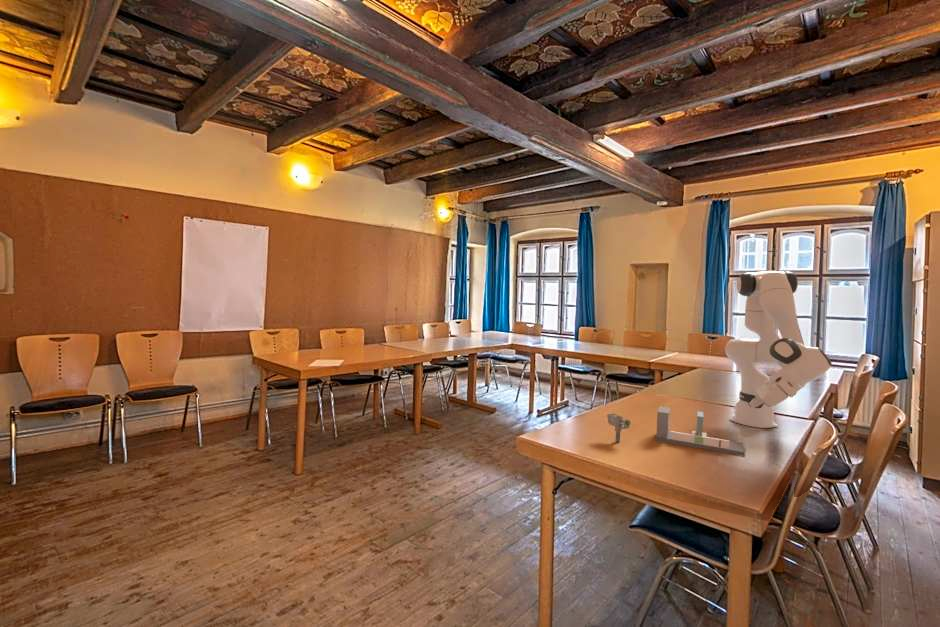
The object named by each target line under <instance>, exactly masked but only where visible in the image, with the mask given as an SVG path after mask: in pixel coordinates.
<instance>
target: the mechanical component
mask: <svg viewBox="0 0 940 627" xmlns="http://www.w3.org/2000/svg"><path fill="white" fill-rule="evenodd" d="M606 417H607V423H608V425H609V426H613V427H614V431H615V439H614V440H615V443H616V444H617V443H620V442H621V441H620V440H621V432H623V431H622V430H626V429H630V426H631V421H630V419H623V418H624V417H623V416H620V415H618V414H615V413H607V416H606Z"/></svg>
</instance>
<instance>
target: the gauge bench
mask: <svg viewBox="0 0 940 627" xmlns="http://www.w3.org/2000/svg"><path fill="white" fill-rule="evenodd" d="M670 417H671V407H668V406H667V407H666V406H659V408H658V409H657V417H656V433H655V441H656V442H661V443H665V444H671V445H677V446H678V445H679V446H683V447H688V448H689V447H690V448H694V449H695V448H696V449H700V450H701V449H702V450H707V451H711V452H717V453H724V454H728V455H729V454H730V455H735V456H739V457H740V456H741V457H745V455H746V451H745V448H744V443H743V442H740V441H733V440H729V439H722V438H716V437H709V436H706V437H705V436H698V435H693V434H692V433H686V432H679V431H673V430H670V422H671V421H670V419H671V418H670Z"/></svg>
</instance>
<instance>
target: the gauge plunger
mask: <svg viewBox="0 0 940 627" xmlns="http://www.w3.org/2000/svg"><path fill="white" fill-rule="evenodd" d="M696 413H697V414H696V416H697V417H696V430H692V431H691V434H693V435H698V436H705V437H707V432H704V431H703V430H704V429H703V428H704V427H703V426H704V412H703V411H697V412H696Z"/></svg>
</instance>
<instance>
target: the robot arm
mask: <svg viewBox="0 0 940 627" xmlns="http://www.w3.org/2000/svg"><path fill="white" fill-rule="evenodd" d="M798 285H799V280H798V277H797V275H796V274H795V272H792V271H789V270H787V271H785V270H784V271H777V270H766V271H756V272H750V271H747V272H743V273H741V274H740V275H739V276H738V278H737V280H736V285H735V286H736V290H737V293H738V294H739V295H741V296H743V297H746V300H745V309H744V310H745V312H744V315H745V316H744V326H745V328H746V329H747V330H749V331H750V332H752V333H754V334H756V335H758V337H759V339H755V338H754V339H753V338H752V339H751V338H733V339H729V340H728V342H727V343H726V345H725V349H724V352H725V355H726V356H727V358H728V359H729V360H730V361H732V362H733V363H734V364H735V366H737V369H738V370H739V373H740V383H741V384H740V391H739V400H738V401H737V402H735V404H733V410H734V411H733V413H732V415H731V416H730V417H729V419H728V420H729V421H731V422H735V423H737V424H740V425H744V426H747V427H751V428H759V429H761V428H762V429H770V428H778V427H779V424H777V423H776V422H774V416H775V414H774V412H775V409H774V407H775V406H777V405H778V404H780V403H782V402H784V401H785V400H787V399H788V398H793V397H795V396H796V395H797V393H798V392H799V391H800V390H801V389H803V388H804V387H805V386H806V385H807V384H809V383H810V382H813V381H814V382H815V380H817V379H818V378H820V377H821V376H822V375H824V374H825V373H826V372H827V371H829V370H830V369H831V367H832V361H831V359H830V358H829V357H828V356H827V354H826V353H825V352H824V350H822V349H821V348H819V347H817V346H813V347H812V346H808V345H805V343H804V340H803V336H802V333H801V329H800V326H799V323H798V322H799V320H798V315H797V310H796V302H795V298H794V293H796V292H797V289H798ZM776 329H777V330H778V332H779V334H780V335H778V333H777V330H776ZM780 336H781V337H780ZM756 364H758V365H767V366H769V365H770V366H780V367H781V368H780V369H779V370H777V371H776V372H775V373H773V374H771V375H770V376H768V374H766V373H765V372H763V371H761V370H760V369H758V368H757V367H756Z"/></svg>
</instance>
